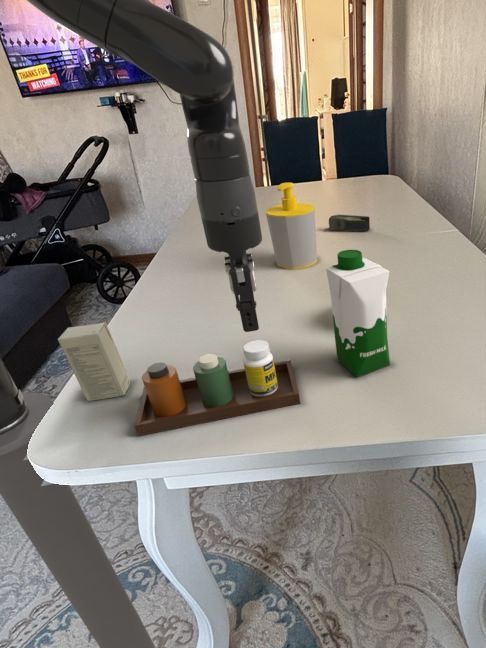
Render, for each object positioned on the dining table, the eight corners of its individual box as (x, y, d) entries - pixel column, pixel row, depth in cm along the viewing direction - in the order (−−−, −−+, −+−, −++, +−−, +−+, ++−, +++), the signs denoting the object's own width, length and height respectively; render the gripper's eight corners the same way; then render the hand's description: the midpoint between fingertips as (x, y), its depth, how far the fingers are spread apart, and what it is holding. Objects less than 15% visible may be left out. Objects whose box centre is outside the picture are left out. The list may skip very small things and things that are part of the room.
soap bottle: (264, 266, 130) (250, 188, 119) (290, 251, 140) (280, 177, 129) (304, 272, 125) (294, 190, 114) (328, 256, 135) (321, 179, 124)
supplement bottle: (271, 398, 76) (263, 354, 72) (245, 396, 77) (235, 352, 73) (282, 382, 80) (275, 339, 76) (256, 380, 81) (247, 337, 77)
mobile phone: (370, 214, 153) (325, 213, 156) (368, 217, 151) (323, 216, 153) (370, 229, 156) (326, 228, 158) (368, 232, 153) (324, 231, 156)
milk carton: (370, 345, 90) (364, 244, 80) (397, 365, 83) (395, 258, 73) (330, 359, 86) (319, 255, 76) (355, 382, 80) (346, 271, 69)
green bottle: (202, 410, 74) (190, 369, 70) (202, 392, 78) (191, 353, 75) (234, 403, 75) (224, 363, 71) (233, 386, 80) (223, 347, 76)
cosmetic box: (131, 382, 83) (108, 321, 77) (125, 396, 79) (100, 333, 73) (93, 387, 82) (66, 326, 76) (84, 402, 79) (56, 338, 72)
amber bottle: (152, 420, 73) (137, 379, 69) (155, 401, 77) (141, 361, 73) (185, 413, 74) (172, 372, 70) (187, 395, 78) (175, 356, 74)
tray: (138, 436, 70) (134, 426, 69) (147, 396, 79) (143, 386, 78) (300, 403, 75) (299, 393, 74) (292, 369, 84) (290, 359, 83)
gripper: (201, 202, 69) (224, 302, 77) (198, 228, 57) (225, 344, 65) (254, 196, 70) (270, 295, 78) (261, 221, 58) (279, 335, 67)
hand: (249, 317), depth 72 cm, fingers open, 8 cm apart
